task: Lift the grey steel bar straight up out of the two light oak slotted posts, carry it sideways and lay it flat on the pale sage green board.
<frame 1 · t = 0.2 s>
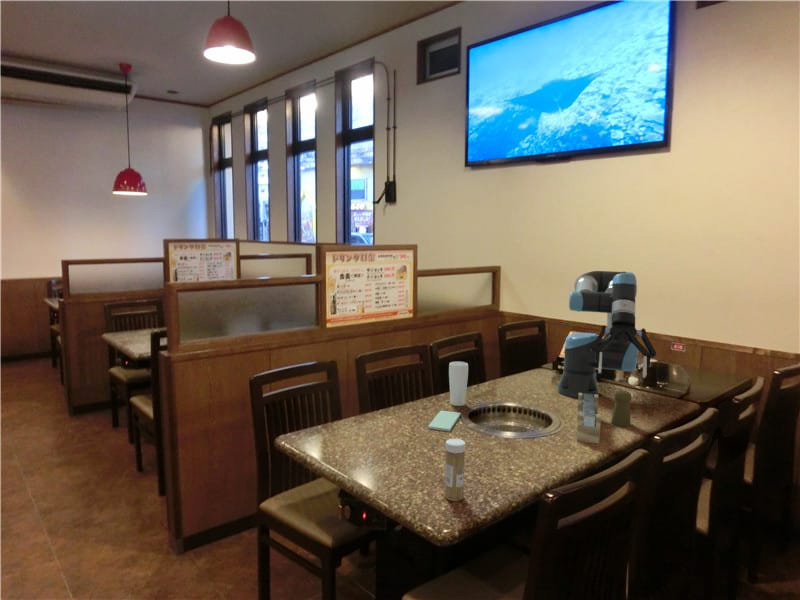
hand: (622, 374, 174), 16 cm above the table, tool tilted 35°, fingers open, 13 cm apart
sprinkles bottle: (454, 497, 124), on the table
olive round-headed peg: (620, 424, 174), on the table
hook stands: (587, 428, 169), on the table
steel rail: (588, 413, 168), point 5 cm above the table, touching hook stands
drinking glass: (457, 404, 191), on the table
sage board: (444, 421, 173), on the table
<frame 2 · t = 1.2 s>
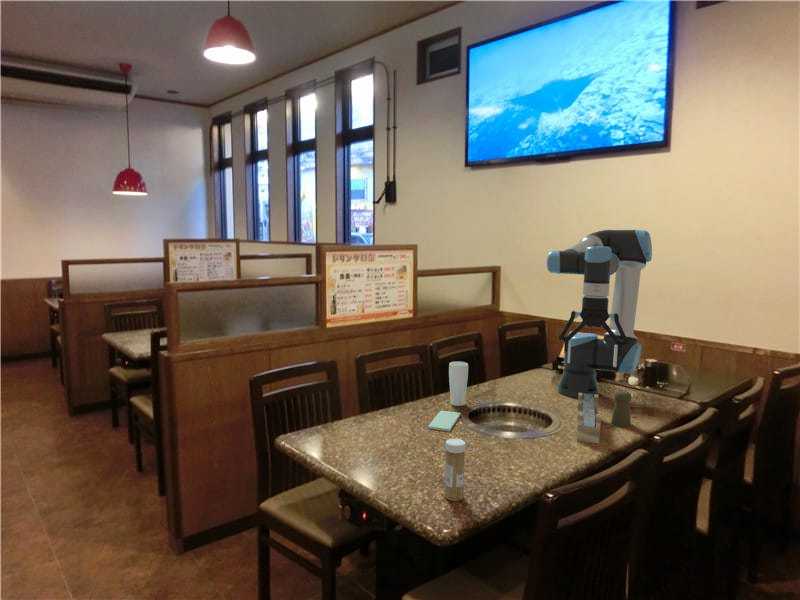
hand: (591, 364, 166), 21 cm above the table, tool pointing down, fingers open, 13 cm apart
nothing on the table moved.
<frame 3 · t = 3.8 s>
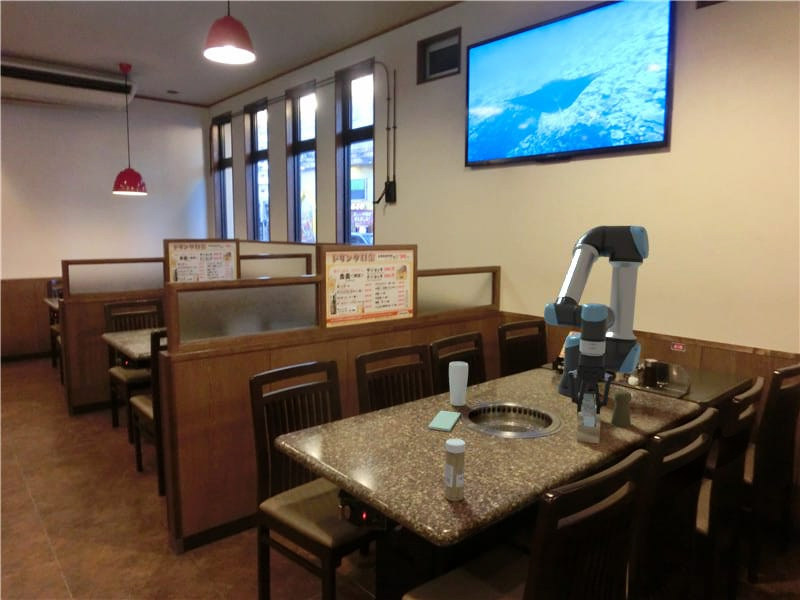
hand: (587, 425, 169), 1 cm above the table, tool pointing down, fingers closed on steel rail, 3 cm apart
steel rail: (588, 413, 168), point 5 cm above the table, touching gripper, hook stands
everything else where it was.
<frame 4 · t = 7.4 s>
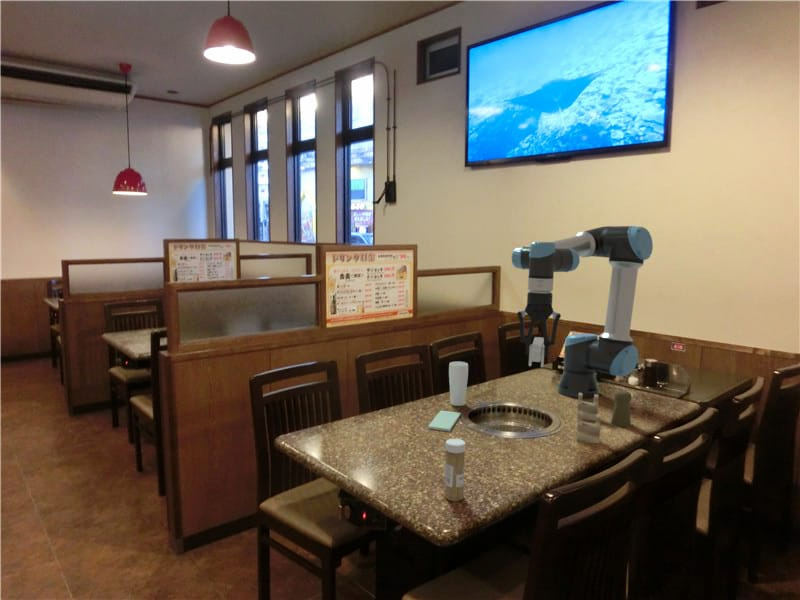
hand: (536, 365, 168), 20 cm above the table, tool pointing down, fingers closed on steel rail, 3 cm apart
steel rail: (536, 353, 167), point 24 cm above the table, touching gripper
everything else where it was.
when the fingers open (2 cm above the table, at t = 11.5 s): steel rail drops 5 cm, resting on sage board.
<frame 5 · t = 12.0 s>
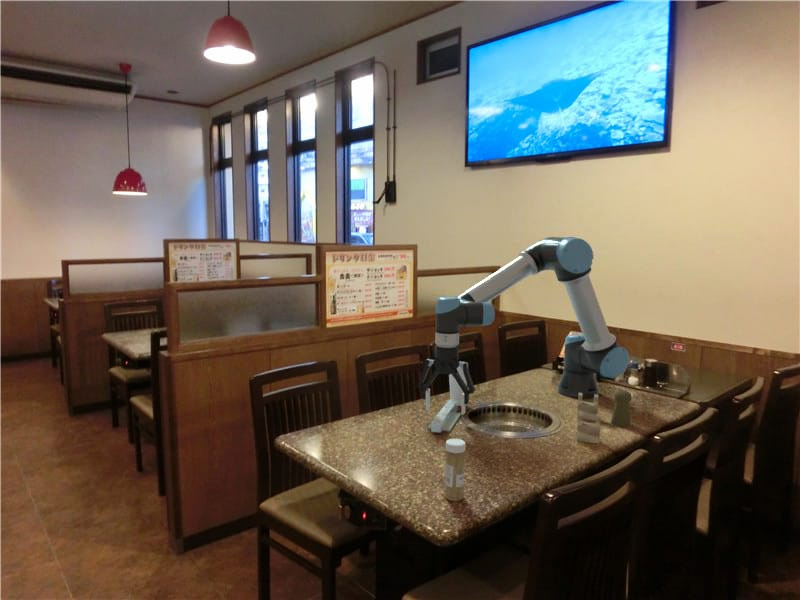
hand: (445, 411, 173), 3 cm above the table, tool pointing down, fingers open, 11 cm apart
steel rail: (445, 419, 173), point 1 cm above the table, touching sage board
everything else where it was.
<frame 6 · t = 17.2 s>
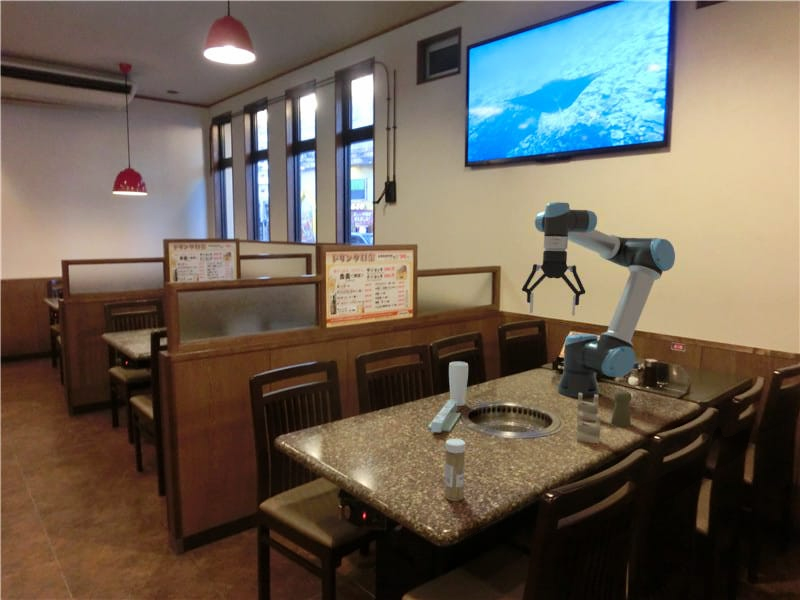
hand: (552, 313, 178), 35 cm above the table, tool pointing down, fingers open, 13 cm apart
nothing on the table moved.
at the end: steel rail inside the target area on the sage board (0.1 cm from its centre), point 0.8 cm above the sage board's base; steel rail touching sage board; the gripper is holding nothing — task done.
